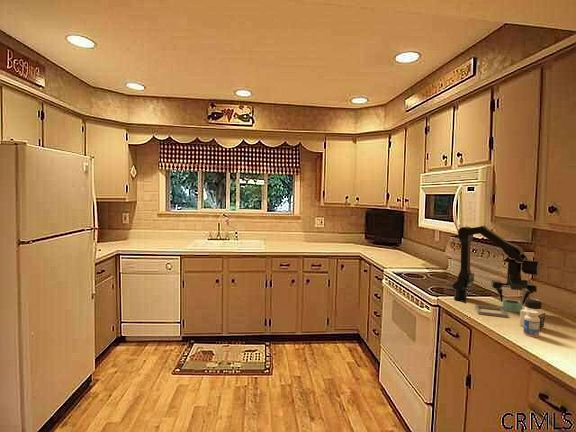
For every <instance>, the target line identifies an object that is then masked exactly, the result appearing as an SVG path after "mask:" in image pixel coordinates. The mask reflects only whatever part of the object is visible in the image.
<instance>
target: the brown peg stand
mask: <svg viewBox="0 0 576 432" xmlns="http://www.w3.org/2000/svg"><path fill="white" fill-rule="evenodd" d="M515 300H516V299H509V303H518V301H515ZM502 306H503V305H501V306H500V307H501V308H503V307H502ZM503 310H504V311H505V309H504V308H503ZM505 312H506V311H505ZM508 312H510V313H511V312H512V313H514V312H513V311H508ZM517 313H519V314H520V312H517Z"/></svg>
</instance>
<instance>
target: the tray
mask: <svg viewBox="0 0 576 432" xmlns="http://www.w3.org/2000/svg"><path fill="white" fill-rule="evenodd" d="M474 308H475V310H476V313H477V315H481V316H490V317H496V318H497V317H499V318H506V319H507V318H508V313H507V311H504V310H503V308H502V307H501V306H498V307H497V306H490V305H480V304H474ZM480 309H482V310H483V309H484V310H485V309H486V310H490V311H481V310H480ZM491 310H492V311H500V313H498V312H491Z"/></svg>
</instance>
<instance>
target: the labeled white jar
mask: <svg viewBox="0 0 576 432" xmlns="http://www.w3.org/2000/svg"><path fill="white" fill-rule="evenodd" d="M542 305H543V302H542V301H541V300H539V299H536V298H526V300H525V303H524V308H522V310H521V311H520V313H519V326H520V327H523V328H524V317H525V316H526V315H527V310H533V311H537V312H538V316H537V317H539V318H540V327H539V331H540V330H541V329H543V328H545V323H546V322H545V319H546V311H544V310H542Z"/></svg>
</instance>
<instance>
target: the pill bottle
mask: <svg viewBox="0 0 576 432" xmlns="http://www.w3.org/2000/svg"><path fill="white" fill-rule="evenodd" d="M537 316H538V312H537V311H533V310H527V315H526V316H525V317H524V327H523V331H522V332H523V333H522V334H524V335H525V336H528V337H532V338H537V337H539V335H540V330H539V327H540V318H539V317H537Z"/></svg>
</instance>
